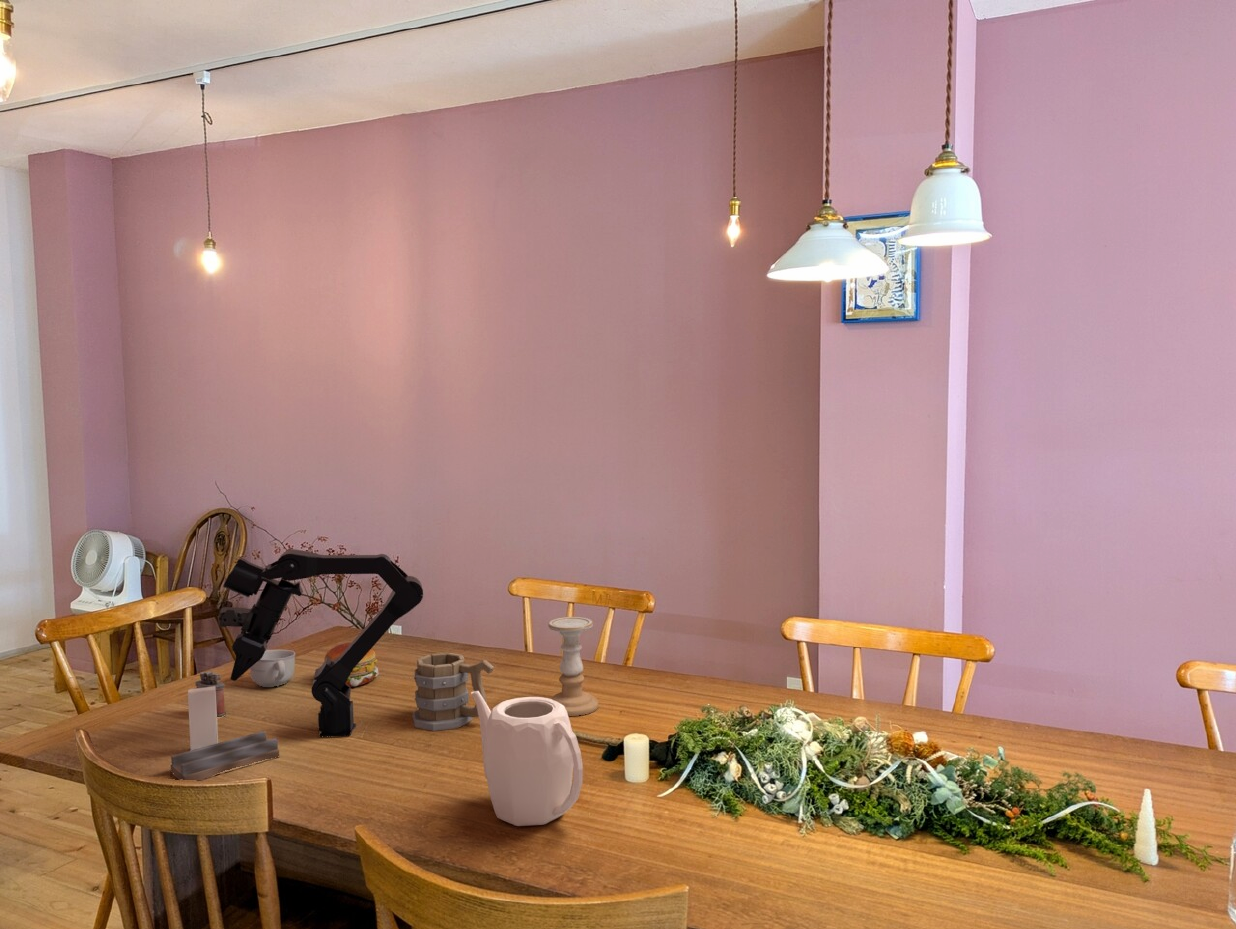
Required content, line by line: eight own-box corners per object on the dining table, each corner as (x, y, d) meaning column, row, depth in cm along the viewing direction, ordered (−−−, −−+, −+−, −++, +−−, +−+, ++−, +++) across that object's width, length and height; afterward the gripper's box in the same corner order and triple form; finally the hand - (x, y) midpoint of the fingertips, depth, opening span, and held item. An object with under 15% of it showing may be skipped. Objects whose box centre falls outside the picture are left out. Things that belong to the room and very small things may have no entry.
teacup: (250, 681, 229) (248, 650, 228) (294, 675, 233) (293, 645, 233) (252, 697, 216) (251, 665, 216) (299, 690, 221) (298, 659, 220)
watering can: (505, 775, 169) (503, 678, 168) (612, 816, 152) (610, 708, 151) (441, 805, 157) (438, 701, 156) (549, 852, 140) (546, 736, 139)
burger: (320, 678, 230) (319, 640, 230) (374, 671, 236) (372, 634, 235) (327, 693, 218) (325, 654, 217) (383, 685, 224) (382, 646, 223)
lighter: (193, 714, 205) (191, 672, 204) (206, 709, 208) (204, 668, 207) (216, 720, 201) (214, 676, 200) (229, 715, 204) (227, 672, 203)
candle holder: (575, 720, 197) (573, 631, 196) (534, 709, 205) (532, 623, 203) (609, 705, 207) (608, 620, 206) (569, 695, 214) (567, 613, 213)
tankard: (401, 725, 196) (399, 658, 195) (438, 707, 207) (436, 644, 206) (474, 740, 187) (472, 670, 186) (509, 720, 198) (507, 654, 197)
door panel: (218, 747, 185) (215, 686, 184) (217, 751, 183) (214, 689, 182) (191, 751, 183) (188, 689, 182) (191, 755, 181) (187, 693, 180)
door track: (263, 746, 185) (262, 730, 185) (279, 757, 179) (278, 740, 179) (171, 772, 173) (170, 754, 172) (185, 784, 167) (184, 766, 167)
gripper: (239, 582, 194) (206, 647, 193) (226, 600, 176) (189, 672, 175) (288, 602, 197) (255, 666, 196) (279, 622, 179) (244, 692, 178)
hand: (236, 673), depth 186 cm, fingers open, 9 cm apart
